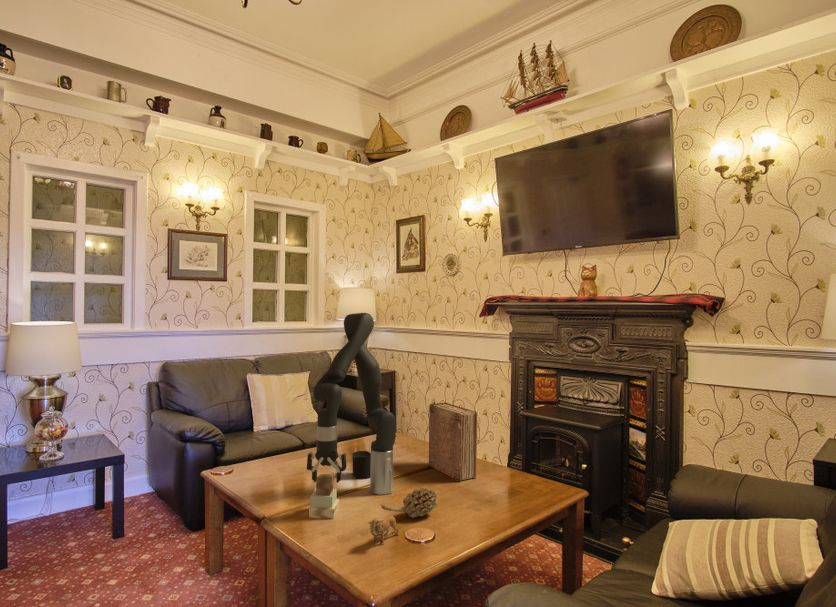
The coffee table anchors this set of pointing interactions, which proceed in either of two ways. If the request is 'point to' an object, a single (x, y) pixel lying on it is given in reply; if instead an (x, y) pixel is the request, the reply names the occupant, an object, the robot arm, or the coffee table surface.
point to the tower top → (323, 500)
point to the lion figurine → (382, 528)
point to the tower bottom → (324, 511)
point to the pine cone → (417, 503)
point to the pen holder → (361, 464)
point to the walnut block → (324, 484)
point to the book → (453, 440)
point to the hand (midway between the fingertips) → (326, 481)
